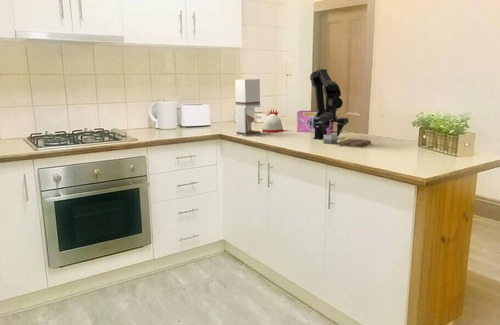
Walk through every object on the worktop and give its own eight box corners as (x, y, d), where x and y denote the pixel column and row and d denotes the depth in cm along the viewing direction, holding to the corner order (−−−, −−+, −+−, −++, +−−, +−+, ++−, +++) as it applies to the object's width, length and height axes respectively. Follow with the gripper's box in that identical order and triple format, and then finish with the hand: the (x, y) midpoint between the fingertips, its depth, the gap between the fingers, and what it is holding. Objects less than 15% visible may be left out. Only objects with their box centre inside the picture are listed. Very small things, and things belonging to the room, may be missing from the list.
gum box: (335, 132, 270) (335, 111, 268) (331, 133, 264) (331, 112, 261) (301, 130, 282) (301, 110, 279) (296, 131, 275) (296, 111, 273)
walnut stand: (339, 145, 219) (340, 141, 218) (350, 142, 228) (350, 138, 227) (361, 147, 211) (361, 143, 211) (370, 144, 220) (371, 140, 220)
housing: (323, 143, 226) (323, 134, 225) (328, 142, 231) (329, 133, 230) (331, 144, 223) (331, 135, 222) (336, 142, 227) (337, 133, 226)
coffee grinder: (246, 136, 258) (244, 79, 251) (236, 134, 267) (235, 79, 260) (260, 134, 265) (259, 79, 258) (250, 133, 273) (249, 79, 266)
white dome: (283, 132, 274) (283, 109, 270) (262, 132, 274) (262, 110, 271) (282, 129, 287) (282, 108, 284) (262, 130, 288) (262, 108, 284)
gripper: (308, 107, 223) (307, 136, 226) (339, 108, 211) (338, 139, 214) (318, 106, 231) (318, 133, 234) (349, 107, 219) (348, 136, 223)
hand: (330, 135), depth 226 cm, fingers open, 9 cm apart
